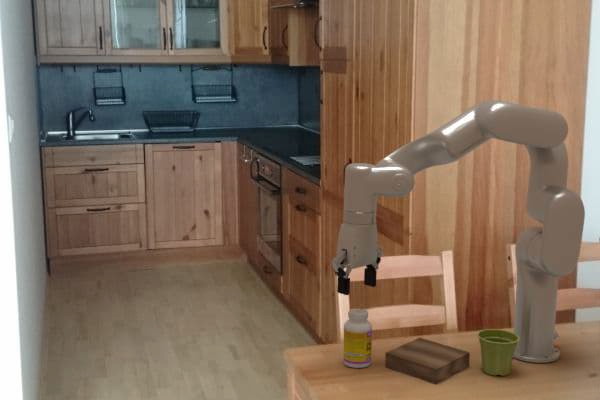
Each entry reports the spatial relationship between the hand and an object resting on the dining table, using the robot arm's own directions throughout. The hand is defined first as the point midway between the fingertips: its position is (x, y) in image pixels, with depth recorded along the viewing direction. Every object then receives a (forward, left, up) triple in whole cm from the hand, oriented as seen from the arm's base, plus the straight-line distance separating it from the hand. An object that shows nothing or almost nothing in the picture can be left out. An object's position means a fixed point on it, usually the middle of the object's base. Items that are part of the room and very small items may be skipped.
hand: (356, 289), depth 175 cm
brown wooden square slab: (-10, +13, -18) cm, 25 cm away
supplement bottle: (0, 0, -18) cm, 18 cm away
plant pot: (-19, +26, -18) cm, 37 cm away
